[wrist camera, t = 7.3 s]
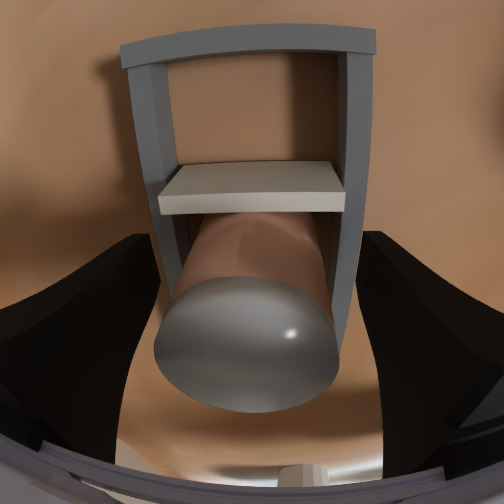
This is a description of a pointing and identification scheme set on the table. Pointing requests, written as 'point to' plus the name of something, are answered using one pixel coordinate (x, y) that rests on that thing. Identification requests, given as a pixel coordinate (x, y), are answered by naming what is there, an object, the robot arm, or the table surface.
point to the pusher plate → (254, 188)
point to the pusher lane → (251, 42)
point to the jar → (251, 315)
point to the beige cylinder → (303, 476)
